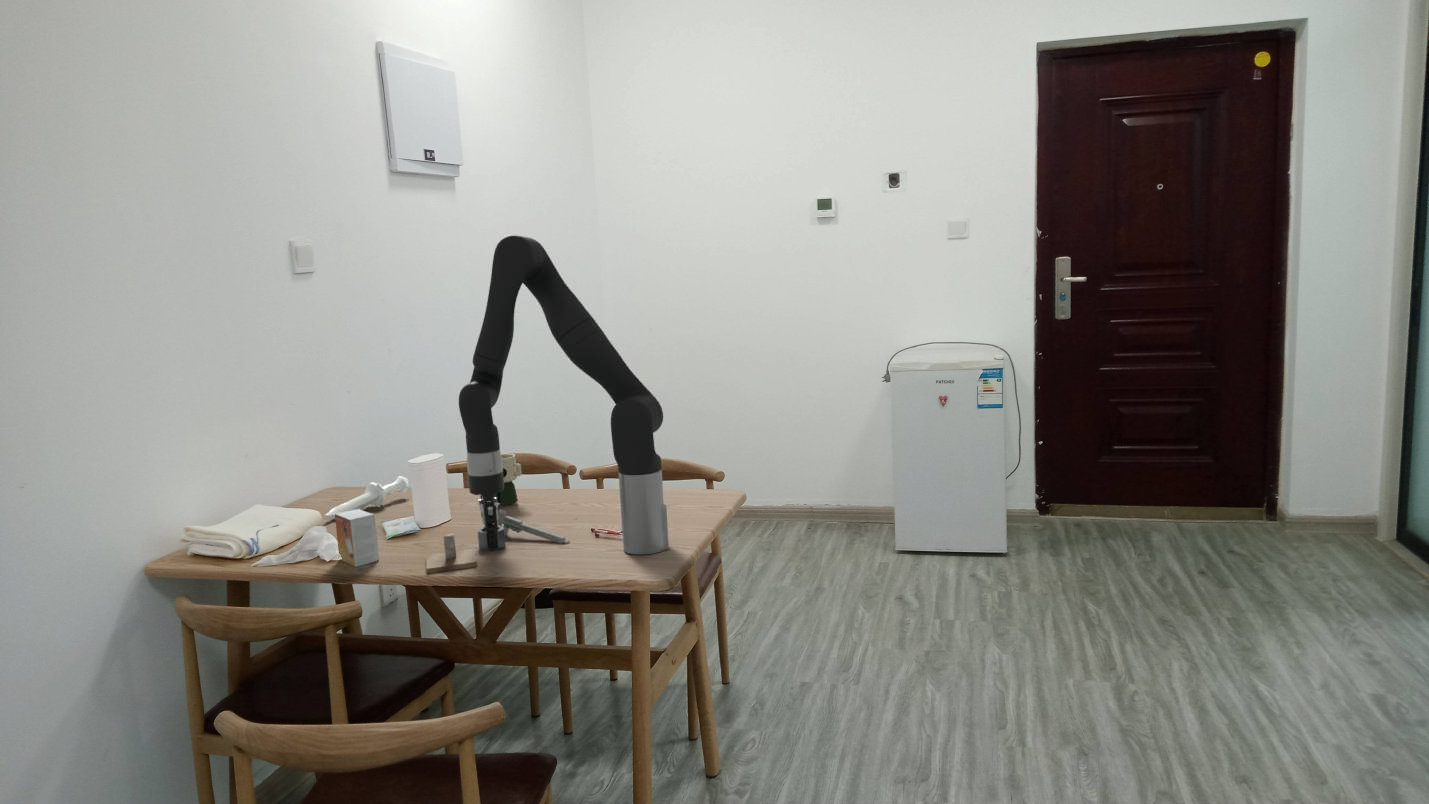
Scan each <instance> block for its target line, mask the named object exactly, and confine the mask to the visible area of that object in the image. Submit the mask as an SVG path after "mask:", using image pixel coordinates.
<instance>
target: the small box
mask: <svg viewBox="0 0 1429 804" xmlns="http://www.w3.org/2000/svg"><path fill="white" fill-rule="evenodd" d="M334 520H335V529H336V539H337V548H338V555H339V554H340V555H341V557H342V560H341V562H344V563H346V564H348V565H351V566H352V567H354V568H357V566H358V567H360V566H365V565H369V564H371V562H372V563H375V562H374V561H376V562H378V561H377V560H379V561H380V556H379V555H380V554H379V544H378V543H379V542H378V536H377V535H378V533H377V525H376V524H377V523H376V514H374V513H371V512H368V511H365V510H363V509H362V510H360V509H355V510H351V511H346V512H342V513H337V514H335V519H334Z"/></svg>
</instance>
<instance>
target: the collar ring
mask: <svg viewBox="0 0 1429 804" xmlns="http://www.w3.org/2000/svg"><path fill="white" fill-rule="evenodd" d="M503 526H504V525H502V526H497V527H498V531H497V539H498V548H496V549H488V545H487V534H486V532H485V529H486V528H485V526H483V527H480V528H478V529H477V537H478V539H477V540H478V548H479V550H481V551H486V552H488V551H496V550H500V549H503V548H505V547H506V536H505V535H504V528H503ZM488 527H489V526H488Z"/></svg>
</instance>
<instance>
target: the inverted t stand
mask: <svg viewBox="0 0 1429 804" xmlns="http://www.w3.org/2000/svg"><path fill="white" fill-rule="evenodd" d="M442 537H443V543H444V544H443V545H444V552H438V553H429V554H426V562H425V563H426V574H434V573H440V572H439V571H441V572H447V570H448V571H455V570H461V569H468V568H477V567H478V563H477V557H476V553H475V548H469V549H468V548H466V549H461V550H460V549H459V550H456V548H457V547H456V541H455V540H456V539H455V534H454V533H447V534H444V535H443V536H442ZM454 569H455V570H454Z"/></svg>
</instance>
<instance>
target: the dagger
mask: <svg viewBox="0 0 1429 804" xmlns="http://www.w3.org/2000/svg"><path fill="white" fill-rule="evenodd" d="M409 488H410V481H409V479H408V478H407V477H405V476H402V475H399V476H397V477H396V479H395V480H394V481H393V482H392V483H389V484H385V485H384V486H383V485H381V483H380V482H379V483H376V482H374V481H371V482H369V484H368V485H367V486H366V488H365V490H364V493H363V494H361V495H359V496H357V497H354V498H352V499H351V500H349V501H346V502H345V503H342V504H339V505H336V506H334V507H333V508H332V509H331V510H329V511H328V512H327V513H326V514H324V516H325V518H326V517H327V518H328V519H329V520H335V514H337V513H342V512H346V511H351V510H355V509H360V510H361V509H362V510H363V509H365V508H366V507H367V506H369V505H370V506H371V505H375V506H376V505H377V506H381V505H382V506H383V505H384V503H386V501H387V497H388V496H390V495H391V494H393V493H394V492H396V491H397V492H399V493H406V492H407V490H408V489H409ZM375 506H374V507H375Z"/></svg>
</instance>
